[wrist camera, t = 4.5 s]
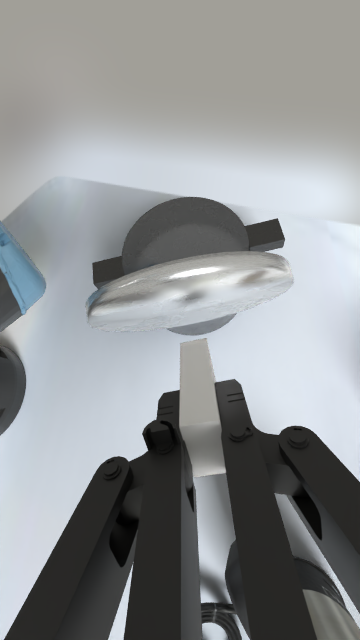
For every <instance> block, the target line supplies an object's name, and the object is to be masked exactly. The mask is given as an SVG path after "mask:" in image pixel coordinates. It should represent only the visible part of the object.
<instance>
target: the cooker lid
mask: <svg viewBox="0 0 360 640" xmlns="http://www.w3.org/2000/svg"><path fill="white" fill-rule="evenodd" d="M293 283H294V278H293V275H292V271H291V267H290V264H289V262H288V260H286V259H285V258H284V257H282V256H279V255H277V254H272V253H267V252H258V251H237V252H222V253H213V254H206V255H199V256H193V257H188V258H183V259H178V260H174V261H170V262H166V263H162V264H158V265H154V266H151V267H148V268H145V269H142V270H138V271H136V272H133V273H130V274H128V275H125V276H123V277H120V278H118V279H116V280H114V281H112V282H110V283H108V284H106V285H104V286H103V287H101V288H99V289H98V290H97V291H95V292H94V293H93V294H92V295H91V296H90V297H89V298H88V300H87V301H86V306H85V307H86V314H87V321H88V324H89V325H90V326H91V327H92V328H95V329H98V330H102V331H111V332H136V331H149V330H158V329H165V328H172V327H178V326H184V325H189V324H194V323H199V322H204V321H208V320H212V319H216V318H220V317H224V316H227V315H231V314H234V313H238V312H241V311H244V310H247V309H250V308H252V307H255V306H258V305H260V304H263V303H265V302H267V301H270V300H272V299H274V298H276V297H278V296H279V295H281V294H283V293H284V292H286V291H287V290H288V289H289V288H290V287H291V286H292V285H293Z"/></svg>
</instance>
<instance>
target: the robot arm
mask: <svg viewBox="0 0 360 640" xmlns="http://www.w3.org/2000/svg"><path fill="white" fill-rule="evenodd" d="M45 289H46V282H45V279H44V277H43V275H42V274H41V272H40V271H39V270H38V268H37V267H36V266H35V264H34V263H33V262H32V260H31V259H30V258H29V256H28V255H27V254H26V252H25V251H24V250H23V249H22V247H21V246H20V245H19V244H18V242H17V241H16V240H15V239H14V237H13V236H12V235H11V234H10V232H9V231H8V230H7V229H6V227H5V226H4V225H3V224H2V222H1V221H0V332H1V331H3V330H4V329H5V328H6V327H8V326H9V325H10V324H12V323H13V322H14V321H15V320H17V319H18V318H19V317H21V316H22V315H24V314H25V313H26V311H27V310H28V309H29V308H30V307H31V306H32V305H33V304H34V303H35V302H36V301H37V300H39V299H40V298H41V297H42V296H43V294H44V292H45ZM25 385H26V380H25V372H24V368H23V366H22V363H21V361H20V360H19V358H18V357H17V355H16V354H15V353H14V352H13V351H11V350H10V349H8V348H6V347H4V346H1V345H0V435H1V434H2V433H3V432H5V430H6V429H7V428H8V427H9V426H10V425H11V423H12V422H13V420H14V419H15V417H16V415H17V413H18V411H19V409H20V407H21V404H22V401H23V398H24V393H25ZM142 435H143V437H144V440H145V443H146V445H147V448H148V451H147V452H146V453H145V454H144V455H142V456H140V457H138V458H136V459H134V460H132V461H129V462H128V460H127V459H126V458H124V457H120V456H118V457H112V458H110V459H108V460H106V461H105V462H104V463H102V464H101V465H100V467H99V468H98V469H97V471H96V473H95V474H94V476H93V478H92V480H91V482H90V483H89V485H88V487H87V489H86V491H85V493H84V494H83V496H82V498H81V500H80V502H79V504H78V505H77V507H76V509H75V511H74V513H73V515H72V516H71V518H70V520H69V522H68V524H67V526H66V527H65V529H64V531H63V533H62V535H61V537H60V538H59V540H58V542H57V544H56V546H55V547H54V549H53V551H52V553H51V555H50V557H49V558H48V560H47V562H46V564H45V566H44V568H43V569H42V571H41V573H40V575H39V577H38V579H37V580H36V582H35V584H34V586H33V588H32V590H31V591H30V593H29V595H28V597H27V599H26V601H25V602H24V604H23V606H22V608H21V610H20V611H19V613H18V615H17V617H16V619H15V621H14V622H13V624H12V626H11V628H10V630H9V632H8V633H7V635H6V637H5V639H4V640H108V638H109V635H110V631H111V628H112V625H113V622H114V619H115V616H116V613H117V610H118V607H119V604H120V601H121V598H122V595H123V592H124V589H125V586H126V583H127V580H128V577H129V573H130V570H131V567H132V564H133V571H132V579H131V586H130V594H129V602H128V610H127V618H126V625H125V633H124V640H202V620H201V598H200V576H199V554H198V532H197V510H196V490H195V486H194V483H193V474H194V477H195V478H196V477H202V476H209V475H215V474H221V473H226V475H227V482H228V488H229V495H230V502H231V508H232V515H233V522H234V529H235V535H236V542H237V549H238V555H239V562H240V569H241V576H242V582H243V589H244V596H245V602H246V609H247V616H248V623H249V629H250V636H251V640H317V637H316V633H315V630H314V627H313V623H312V620H311V616H310V613H309V610H308V606H307V603H306V600H305V596H304V593H303V589H302V586H301V583H300V579H299V576H298V572H297V569H296V566H295V562H294V559H293V556H292V552H291V549H290V545H289V542H288V539H287V535H286V532H285V528H284V525H283V522H282V518H281V515H280V512H279V508H278V505H277V501H276V498H275V495H274V493H278V494H284V495H287V497H288V499H289V500H290V502H291V504H292V505H293V507H294V509H295V510H296V512H297V513H298V515H299V517H300V518H301V520H302V521H303V523H304V525H305V526H306V528H307V529H308V531H309V533H310V534H311V536H312V537H313V539H314V541H315V542H316V544H317V546H318V547H319V549H320V550H321V552H322V554H323V555H324V557H325V558H326V560H327V562H328V563H329V565H330V566H331V568H332V570H333V571H334V573H335V575H336V576H337V578H338V579H339V581H340V583H341V584H342V586H343V587H344V589H345V591H346V592H347V594H348V595H349V597H350V599H351V600H352V602H353V603H354V605H355V607H356V608H357V610H358V612H359V613H360V482H359V481H358V480H357V479H356V478H355V476H354V475H353V474H352V473H351V472H350V471H349V470H348V469H347V468H346V467H345V466H344V464H343V463H342V462H341V461H340V460H339V459H338V458H337V457H336V456H335V455H334V454H333V452H332V451H331V450H330V449H329V448H328V447H327V446H326V445H325V444H324V443H323V442H322V440H321V439H320V438H319V437H318V436H317V435H316V434H315V433H314V432H313V431H311V430H310V429H308V428H305V427H302V426H291V427H287V428H285V429H284V430H282V431H281V433H280V434H279V435H273V434H267V433H264V432H261V431H259V430H258V429H256V428H255V426H254V425H253V423H252V421H251V418H250V414H249V411H248V407H247V404H246V401H245V397H244V394H243V390H242V387H241V384H239V383H238V382H237V381H236V380H235V379H232V380H227V381H222V382H216V380H215V375H214V370H213V366H212V361H211V357H210V352H209V348H208V343H207V339H206V338H204V339H199V340H194V341H189V342H184V343H180V390H177V391H172V392H167V393H163V395H162V396H161V398H160V399H159V402H158V411H157V420H154V421H152V422H151V423H149V424H148V425H147V426H146V427H145V428H144V431H143V433H142ZM133 561H134V563H133Z"/></svg>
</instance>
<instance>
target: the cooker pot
mask: <svg viewBox="0 0 360 640" xmlns="http://www.w3.org/2000/svg"><path fill="white" fill-rule="evenodd" d="M284 241H285V238H284V235H283V232H282V229H281V226H280V224H279V221H278V218H277V219H273V220H269V221H265V222H261V223H257V224H252V225H248V226H244V225H243V223H242V221H241V220H240V219H239V217H238V216H237V215H236V214H235V213H234V212H233V211H232V210H231V209H229V208H228V207H226V206H225V205H223V204H221V203H219V202H216V201H214V200H210V199H206V198H200V197H184V198H178V199H173V200H170V201H167V202H164V203H162V204H159V205H158V206H156V207H154V208H152V209H151V210H149V211H148V212H146V213H145V214H144V215H143V216H142V217H141V218H140V219H139V220H138V221H137V222H136V223H135V224H134V225H133V227H132V228H131V230H130V231H129V233H128V235H127V237H126V240H125V242H124V246H123V251H122V256H120V257H116V258H111V259H107V260H103V261H99V262H95V263H92V265H93V282H94V285H95V286H96V287H97V288H98V289H99V288H101V287H103V286H104V285H106V284H108V283H110V282H112V281H114V280H116V279H118V278H120V277H123V276H125V275H128V274H130V273H133V272H136V271H138V270H142V269H145V268H148V267H151V266H154V265H158V264H162V263H166V262H170V261H174V260H178V259H183V258H188V257H193V256H199V255H206V254H213V253H222V252H237V251H258V252H265V251H269V250H273V249H278V248H282V247H283V245H284ZM236 314H237V313H234V314H231V315H227V316H224V317H220V318H216V319H212V320H208V321H204V322H199V323H194V324H189V325H184V326H178V327H172V328H166V329H168V330H170V331H172V332H175V333H178V334H182V335H201V334H206V333H210V332H212V331H215V330H217V329H219V328H221V327H222V326H224V325H225V324H227V323H228V322H229V321H230V320H231V319H232V318H233V317H234V316H235V315H236Z"/></svg>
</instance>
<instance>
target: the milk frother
mask: <svg viewBox="0 0 360 640" xmlns="http://www.w3.org/2000/svg"><path fill="white" fill-rule="evenodd" d="M293 559H294V562H295V566H296V569H297V572H298V576H299V579H300V583H301V586H302V589H303V593H304V596H305V600H306V603H307V606H308V610H309V613H310V616H311V620H312V623H313V627H314V630H315V633H316V637H317V640H360V629H359V627H358V626H357V624H356V623H355V621H354V619H353V618H352V616H351V614H350V613H349V611H348V610H347V609H346V606H345V603H344V600H343V598H342V596H341V594H340V592H339V590H338V589H337V587H336V586H335V584H334V583H333V582H332V580H331V579H330V578H329V577H328V576H327V575H326V573H325V572H324V571H322V570H321V569H320V568H319V567H317V566H316V565H314V564H312V563H311V562H309V561H307V560H304V559H301V558H295V557H293ZM225 580H226V585H227V589H228V592H229V595H230V598H231V601H232V604H227V603H201V620H202V623H210V622H212V623H216V624H218V625H219V626H221V627H222V628H223V629H224V630H225V632H226V633H227V635H228V637H229V640H242V638H241V635H240V632H239V629H238V627H237V626H236V624H235V622H234V620H233V619H232V617H231V616H230V615H229V614H228V613H232V614H236V615H238V617H239V619H240V621H241V623H242V625H243V627H244V629H245V631H246V633H247V635H248V637H249V638H250V640H251V636H250V629H249V623H248V616H247V609H246V602H245V596H244V589H243V582H242V576H241V569H240V562H239V555H238V549H237V542H236V540H235V541H234V542H233V544H232V545H231V548H230V551H229V555H228V560H227V565H226V570H225Z"/></svg>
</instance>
